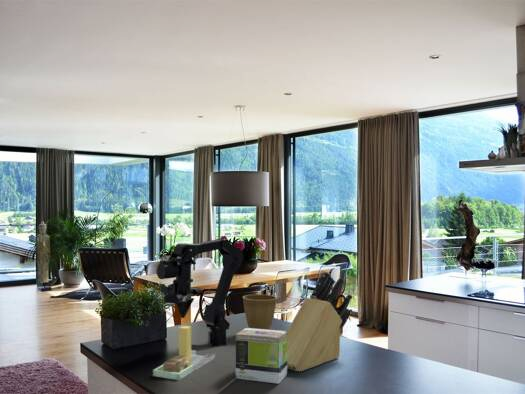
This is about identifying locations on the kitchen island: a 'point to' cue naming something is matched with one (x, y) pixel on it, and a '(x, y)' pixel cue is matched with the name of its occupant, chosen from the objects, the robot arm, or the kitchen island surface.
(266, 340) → the tea box
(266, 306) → the plant pot
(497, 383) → the kitchen island surface
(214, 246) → the robot arm
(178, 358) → the maple block
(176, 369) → the walnut block
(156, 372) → the tray
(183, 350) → the tall yellow pillar
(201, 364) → the slot rail
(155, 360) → the kitchen island surface
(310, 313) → the knife block
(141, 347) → the kitchen island surface
